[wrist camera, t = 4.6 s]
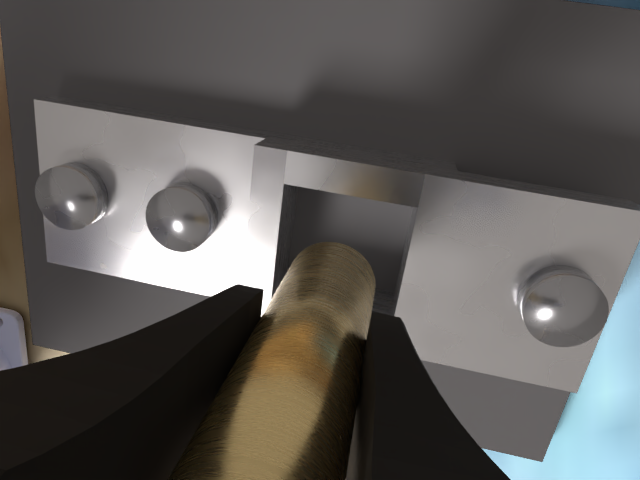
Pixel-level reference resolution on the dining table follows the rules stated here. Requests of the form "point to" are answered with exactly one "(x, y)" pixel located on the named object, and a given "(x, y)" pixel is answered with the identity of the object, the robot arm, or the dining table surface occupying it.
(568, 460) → the dining table surface
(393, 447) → the robot arm
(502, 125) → the dark grey backing panel
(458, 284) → the grey metal plate
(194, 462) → the brass pin
